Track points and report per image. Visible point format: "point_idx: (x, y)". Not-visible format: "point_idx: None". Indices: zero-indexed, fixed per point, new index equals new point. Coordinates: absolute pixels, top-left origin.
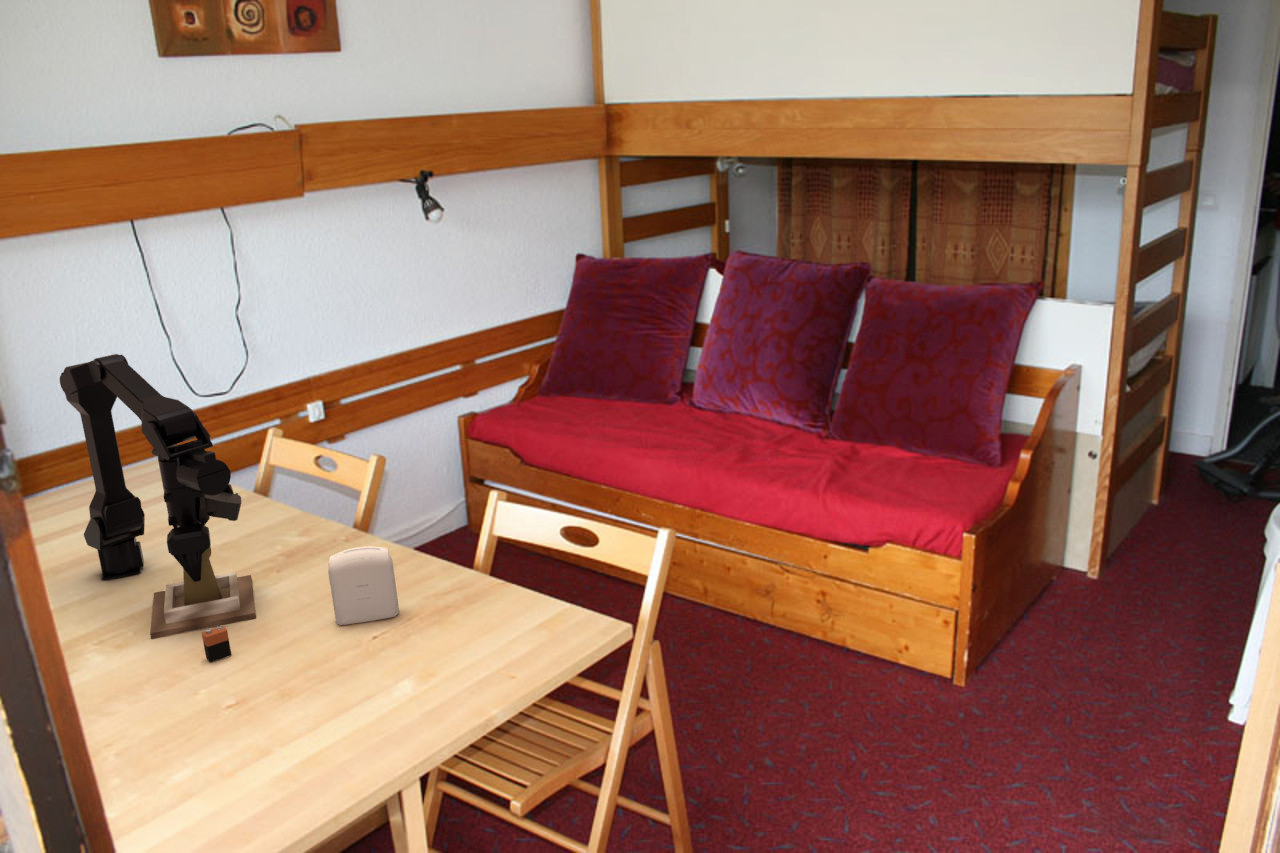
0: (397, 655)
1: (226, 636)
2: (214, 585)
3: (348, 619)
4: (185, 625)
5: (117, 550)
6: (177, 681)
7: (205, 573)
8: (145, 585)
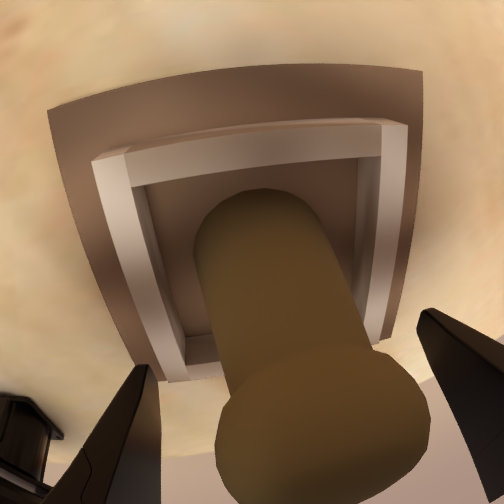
0: None
1: None
2: (309, 236)
3: None
4: (401, 273)
5: (33, 464)
6: None
7: (354, 306)
8: (75, 389)
